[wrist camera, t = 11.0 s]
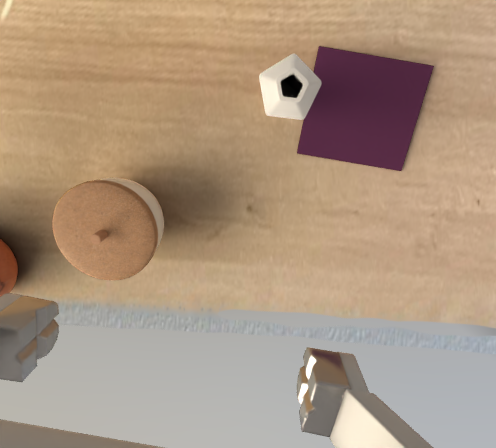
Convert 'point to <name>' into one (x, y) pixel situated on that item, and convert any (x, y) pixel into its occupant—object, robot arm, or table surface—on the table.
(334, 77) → the cloth
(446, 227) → the table surface
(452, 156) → the table surface
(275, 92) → the white faceted vase
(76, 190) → the trinket box
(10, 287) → the potted flower
